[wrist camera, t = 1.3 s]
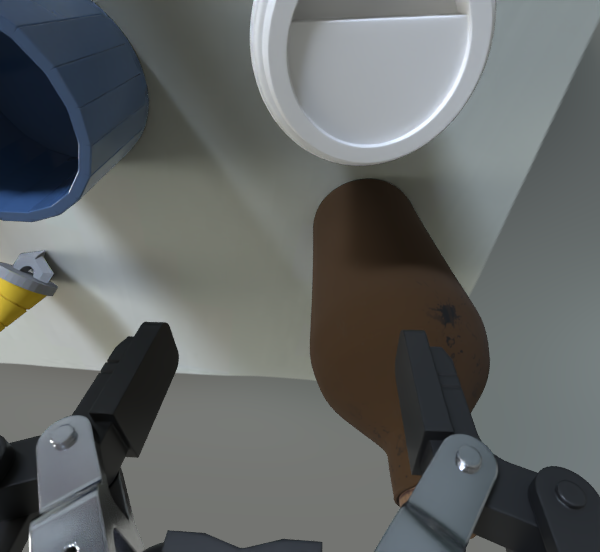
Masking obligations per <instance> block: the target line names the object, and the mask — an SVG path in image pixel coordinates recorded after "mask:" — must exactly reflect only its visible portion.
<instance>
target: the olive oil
mask: <svg viewBox="0 0 600 552" xmlns="http://www.w3.org/2000/svg"><path fill="white" fill-rule="evenodd" d="M401 330H424V331H425V332H426V334H427V338H428V341H429V345H430V347H442V348H443V349H444V350H445V351H446V353H447V354H448V355H449V356H450V357H451V358H452V360H453V363H454V366H455V369H456V372H457V377H458V378H459V381H460V384H461V389H462V390H463V392H464V395H465V398H466V401H467V404H468V407H469V410H470V413H471V412H472V410H473V408H474V407H475V405H476V403H477V401H478V400H479V398H480V396H481V394H482V392H483V390H484V388H485V385H486V382H487V379H488V374H489V367H490V357H489V347H488V340H487V335H486V331H485V327H484V325H483V322H482V320H481V317H480V316H479V314H478V312H477V310H476V308H475V307H474V305H473V303H472V302H471V300H470V299H469V297H468V296H467V294H466V292H465V291H464V289H463V288H462V286H461V285H460V283H459V282H458V280H457V278H456V277H455V275H454V274H453V272H452V271H451V269H450V267H449V266H448V264H447V263H446V261H445V259H444V258H443V256H442V255H441V253H440V251H439V250H438V248H437V247H436V245H435V243H434V242H433V240H432V238H431V237H430V235H429V234H428V232H427V230H426V229H425V227H424V225H423V224H422V222H421V220H420V218H419V217H418V215H417V213H416V211H415V210H414V208H413V206H412V204H411V203H410V201H409V199H408V198H407V196H406V195H405V194H404V193H403V192H402V191H401V190H400V189H399V188H397V187H396V186H394V185H392V184H390V183H388V182H385V181H382V180H377V179H360V180H355V181H351V182H348V183H346V184H343V185H341V186H340V187H338V188H336V189H335V190H333V191H332V192H331V193H330V194H329V195H328V196H327V197H326V198H325V199H324V200H323V201H322V203H321V204H320V206H319V208H318V210H317V212H316V215H315V218H314V225H313V282H312V309H311V331H310V357H311V364H312V368H313V371H314V375H315V377H316V380H317V382H318V385H319V387H320V390H321V392H322V394H323V396H324V397H325V399H326V401H327V402H328V403H329V405H330V406H331V407H332V408H333V409H334V410H335V412H336V413H337V414H339V415H340V416H341V417H342V418H343V419H344V420H346V421H347V422H348V423H349V424H351V425H352V426H353V427H355V428H356V429H357V430H359V431H360V432H362V433H363V434H364V435H365V436H367V437H368V438H370V439H371V440H372V441H373V442H375V443H376V444H377V445H379V446H380V447H381V448H382V449H383V450H384V451H385V452H386V454H387V456H388V462H389V470H390V477H391V482H392V488H393V494H394V501H395V503H396V504H397V505H398V506H400V508H401V506H402V505H403V504H404V503H405V502H407V500H408V499H409V497H410V496H411V494H412V492H413V491H414V489H415V487H416V486H417V484H418V482H419V480H420V479H421V477H422V475H412V474H411V468H410V462H409V456H408V450H407V444H406V438H405V432H404V426H403V420H402V414H401V408H400V402H399V396H398V390H397V384H396V378H395V359H396V353H397V348H398V342H399V336H400V332H401ZM475 536H476V535H475V534H473V533H472V535H471V537H470V539H472V538H473V537H475ZM470 539H469V540H470Z"/></svg>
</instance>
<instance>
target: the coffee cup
mask: <svg viewBox="0 0 600 552" xmlns="http://www.w3.org/2000/svg"><path fill="white" fill-rule="evenodd" d="M495 18H496V0H254V2H253V7H252V13H251V22H250V51H251V60H252V66H253V71H254V75H255V79H256V83H257V86H258V89H259V91H260V94H261V96H262V99H263V101H264V103H265V105H266V107H267V109H268V111H269V112H270V114H271V115H272V117H273V118H274V120H275V121H276V123H277V124H278V125H279V126H280V128H281V129H282V130H283V131H284V132H285V133H286V134H287V135H288V136H289V137H290V138H291V139H292V140H293V141H294V142H295V143H297V144H298V145H299V146H300V147H302V148H303V149H305V150H306V151H308V152H310V153H311V154H313V155H315V156H317V157H319V158H322V159H324V160H327V161H330V162H334V163H338V164H343V165H352V166H367V165H376V164H382V163H386V162H390V161H393V160H396V159H399V158H401V157H404V156H406V155H408V154H410V153H412V152H414V151H416V150H418V149H419V148H421V147H422V146H424V145H425V144H427V143H428V142H430V141H431V140H432V139H434V138H435V137H436V136H437V135H438V134H440V133H441V132H442V131H443V130H444V129H445V128H446V127H447V126H448V125H449V124H450V123H451V122H452V121H453V120H454V118H455V117H456V116H457V115H458V114H459V112H460V111H461V110H462V108H463V107H464V105H465V104H466V103H467V101H468V99H469V98H470V96H471V95H472V93H473V91H474V89H475V87H476V86H477V84H478V82H479V79H480V77H481V75H482V73H483V70H484V67H485V65H486V62H487V59H488V56H489V52H490V49H491V44H492V40H493V34H494V28H495Z"/></svg>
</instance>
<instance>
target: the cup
mask: <svg viewBox="0 0 600 552" xmlns="http://www.w3.org/2000/svg"><path fill="white" fill-rule="evenodd" d="M148 109H149V98H148V89H147V84H146V80H145V76H144V73H143V70H142V67H141V64H140V62H139V60H138V58H137V56H136V53H135V51H134V50H133V48H132V46H131V45H130V43H129V41H128V39H127V38H126V37H125V35H124V34H123V33H122V31H121V30H120V28H119V27H118V26H117V25H116V24H115V22H114V21H113V20H112V19H111V18H110V17H109V16H108V15H107V14H106V13H105V12H104V11H103V10H102V9H101V8H100V7H99V6H98V5H96V4H95V3H94V2H93V1H91V0H0V220H3V221H22V222H35V221H39V220H43V219H47V218H50V217H54V216H58V215H60V214H62V213H63V212H65V211H66V210H67V209H69V208H70V207H71V206H72V205H74V204H75V203H76V202H78V201H79V200H80V199H81V198H82V197H83V196H84V195H85V194H86V193H87V192H88V191H89V190H90V189H91V188H92V187H93V186H94V185H95V184H96V183H97V182H98V181H99V180H100V179H101V178H102V177H103V176H104V175H105V174H106V173H108V172H109V171H110V170H111V169H112V168H113V167H114V166H115V165H116V164H117V163H118V162H119V161H120V160H121V159H122V158H123V157H124V156H125V155H126V154H127V153H128V152H129V151H130V150H131V149H132V148H133V147H134V145H135V144H136V142H137V141H138V140H139V138H140V137H141V135H142V133H143V131H144V128H145V125H146V122H147V117H148Z"/></svg>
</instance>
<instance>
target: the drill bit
mask: <svg viewBox="0 0 600 552" xmlns="http://www.w3.org/2000/svg"><path fill="white" fill-rule="evenodd" d="M44 256H45V251H37V252H29V253H22V254H20V255H19V257H18V258H17V260H16V261H15V263H14V264H13V265H10V264H7V263H2V262H0V332H1V331H2V330H3V329H4V328H5V327H7V326H8V325H10V324H11V323H12V322H14V321H15V320H16V319H17V318H19V317H20V316H21V315H23V314H24V313H25V312H26V309H30V308H32V307H33V306H34V305H36V304H37V303H38V302H39V301H41V300H42V299H43V298H45V297H46V296H53V295H54V293H55V291H56V290H57V288H58V286H57V285H55V284H54V283H52V282H50V281H49V280H50V279H51V277H52V276H53V274H54V273H53V271H52V270H51V268H50V267H49V265H48V264H47V262H46V260H45V259H44ZM32 268H33V270H34V273H31V272H29V270H30V269H32Z"/></svg>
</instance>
